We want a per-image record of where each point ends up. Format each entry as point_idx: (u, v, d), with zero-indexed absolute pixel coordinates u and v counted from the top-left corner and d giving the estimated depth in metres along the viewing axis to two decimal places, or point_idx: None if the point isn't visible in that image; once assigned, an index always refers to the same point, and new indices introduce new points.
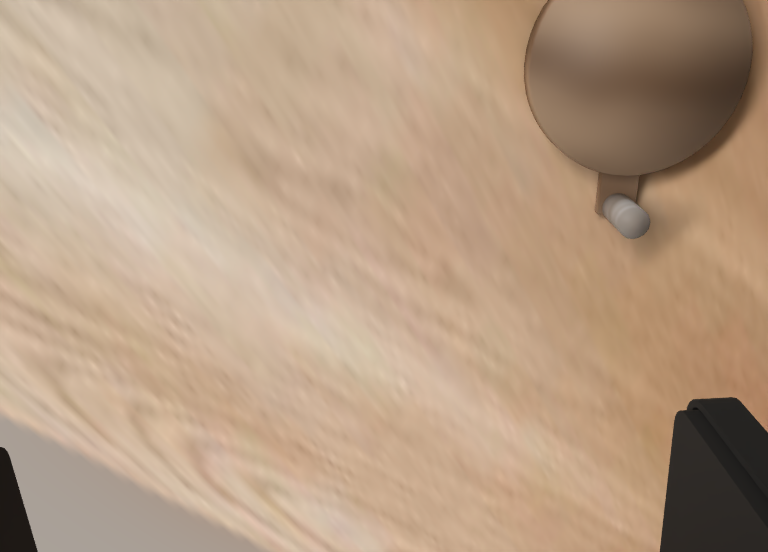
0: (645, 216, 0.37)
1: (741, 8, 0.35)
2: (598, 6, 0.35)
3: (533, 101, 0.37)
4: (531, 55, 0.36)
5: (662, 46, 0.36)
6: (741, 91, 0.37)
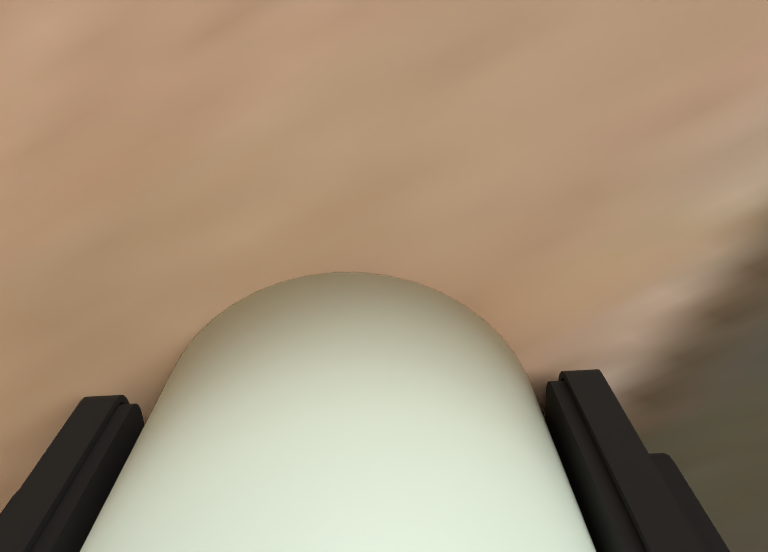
0: None
1: None
2: None
3: None
4: None
5: None
6: None
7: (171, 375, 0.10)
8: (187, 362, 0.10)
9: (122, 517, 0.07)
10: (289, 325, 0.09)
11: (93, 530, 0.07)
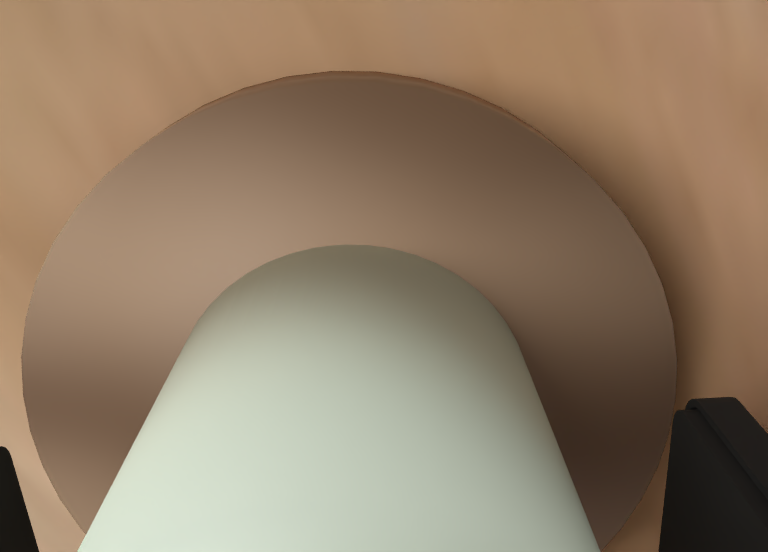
0: None
1: (630, 248, 0.11)
2: (186, 267, 0.11)
3: (68, 507, 0.13)
4: None
5: None
6: (655, 456, 0.13)
7: (188, 339, 0.11)
8: (203, 325, 0.11)
9: (154, 447, 0.08)
10: (298, 289, 0.10)
11: (124, 464, 0.08)
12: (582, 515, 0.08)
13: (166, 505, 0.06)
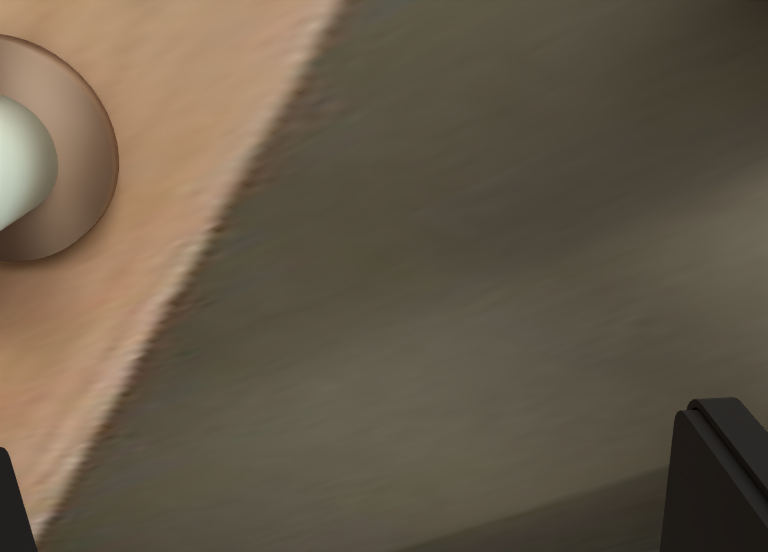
0: None
1: (70, 240, 0.37)
2: (40, 101, 0.34)
3: None
4: None
5: None
6: None
7: (14, 106, 0.34)
8: (21, 115, 0.34)
9: None
10: (39, 148, 0.34)
11: None
12: None
13: None
